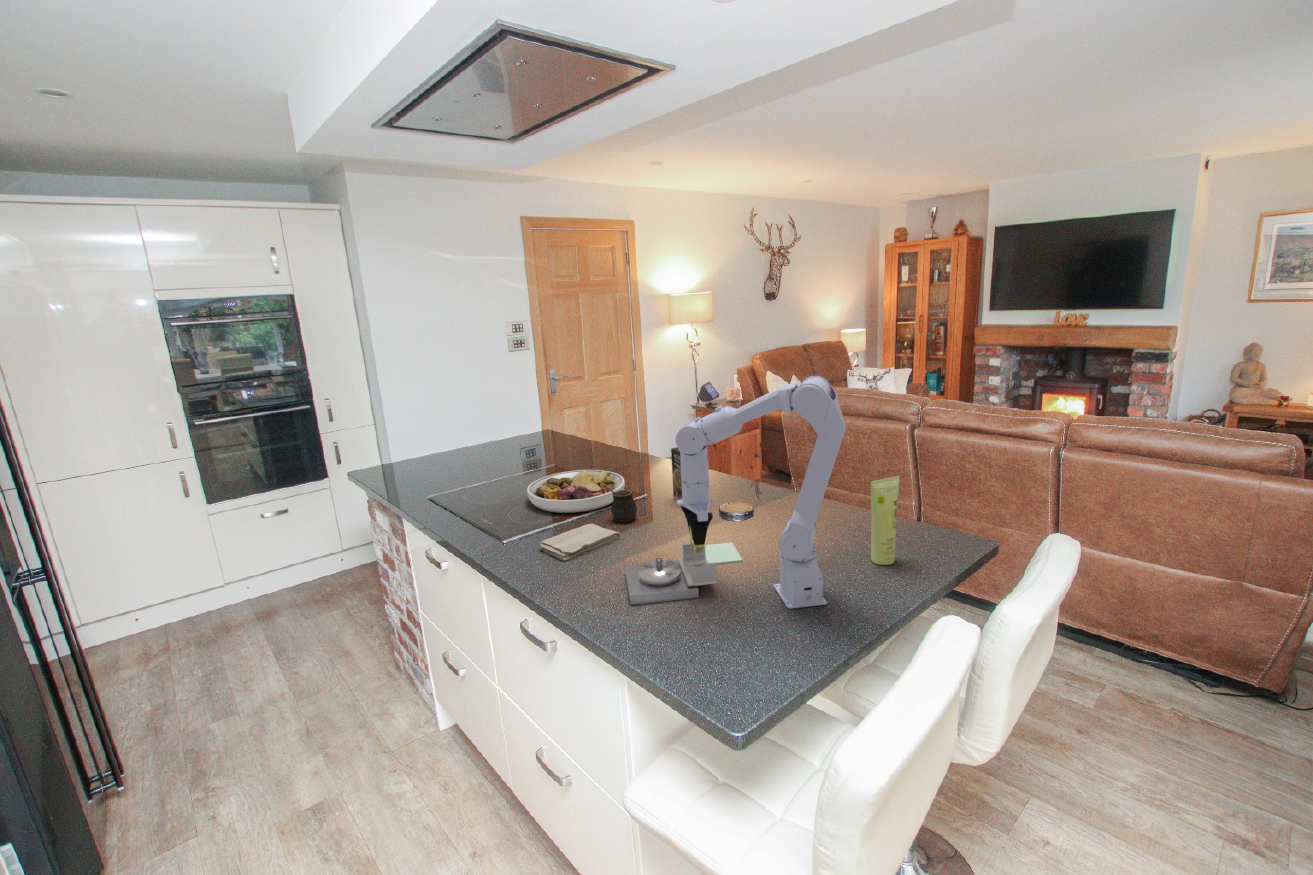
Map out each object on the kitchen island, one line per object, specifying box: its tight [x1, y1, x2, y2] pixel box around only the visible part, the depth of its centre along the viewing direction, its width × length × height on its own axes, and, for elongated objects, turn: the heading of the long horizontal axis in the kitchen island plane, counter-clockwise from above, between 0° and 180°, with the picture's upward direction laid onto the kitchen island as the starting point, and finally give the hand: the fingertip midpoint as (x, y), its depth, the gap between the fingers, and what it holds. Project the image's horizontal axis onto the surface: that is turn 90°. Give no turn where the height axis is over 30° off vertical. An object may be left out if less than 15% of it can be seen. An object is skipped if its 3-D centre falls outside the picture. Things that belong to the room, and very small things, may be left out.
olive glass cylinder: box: [689, 528, 706, 552], centre depth 127 cm, size 3×3×6 cm
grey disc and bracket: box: [639, 542, 717, 587], centre depth 128 cm, size 16×12×4 cm
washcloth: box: [539, 523, 621, 562], centre depth 152 cm, size 12×18×3 cm, turn 135°
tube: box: [870, 475, 901, 566], centre depth 131 cm, size 6×5×20 cm
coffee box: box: [670, 446, 682, 502], centre depth 175 cm, size 9×6×16 cm
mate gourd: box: [608, 488, 638, 523], centre depth 165 cm, size 7×8×10 cm
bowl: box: [526, 469, 626, 514], centre depth 185 cm, size 30×30×8 cm
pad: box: [705, 542, 744, 565], centre depth 142 cm, size 10×10×1 cm
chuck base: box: [624, 560, 700, 606], centre depth 128 cm, size 14×14×2 cm
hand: (697, 540), depth 127 cm, fingers closed on olive glass cylinder, 3 cm apart
